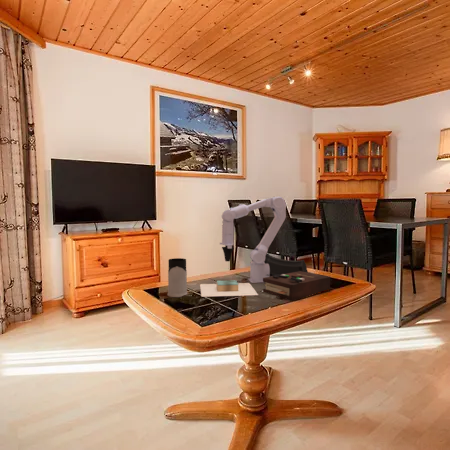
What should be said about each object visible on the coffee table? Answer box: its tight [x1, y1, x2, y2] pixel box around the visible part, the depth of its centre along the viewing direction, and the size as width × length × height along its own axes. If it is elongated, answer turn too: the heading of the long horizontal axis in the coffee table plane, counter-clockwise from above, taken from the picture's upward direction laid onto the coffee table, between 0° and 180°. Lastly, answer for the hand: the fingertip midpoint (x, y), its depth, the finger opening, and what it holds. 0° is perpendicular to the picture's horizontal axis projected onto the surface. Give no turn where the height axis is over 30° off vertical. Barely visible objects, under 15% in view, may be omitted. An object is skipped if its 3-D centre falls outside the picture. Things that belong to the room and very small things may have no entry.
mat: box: [199, 282, 259, 298], centre depth 149 cm, size 24×22×1 cm
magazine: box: [264, 253, 309, 276], centre depth 178 cm, size 17×3×30 cm
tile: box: [216, 279, 239, 292], centre depth 149 cm, size 9×3×8 cm
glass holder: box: [167, 257, 188, 298], centre depth 144 cm, size 9×14×15 cm, turn 5°
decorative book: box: [262, 271, 331, 302], centre depth 147 cm, size 19×8×30 cm
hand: (227, 261), depth 165 cm, fingers closed
